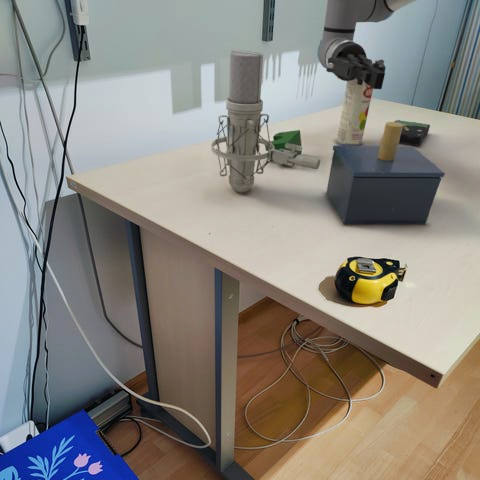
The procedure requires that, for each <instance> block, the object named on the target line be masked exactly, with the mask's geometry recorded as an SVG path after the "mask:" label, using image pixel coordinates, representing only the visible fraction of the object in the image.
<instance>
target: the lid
mask: <svg viewBox="0 0 480 480" xmlns="http://www.w3.org/2000/svg"><path fill="white" fill-rule="evenodd" d="M402 128H403V124H401V123H397V122H394V121H387V122H386V123H385V125H384V129H383V134H382V137H381V142H380V145H360V146H343V145H339V144H338V145H337V144H336V145H332V151H333V152H335V153H336V154H337V156H338V157H339V158H340V160H341V161H342V162H343V164H344V165H345V166H346V168H347V169H348V170H349V172H350V173H351V174H352V176H353V177H441V178H445V175H446V172H445V171H443V170H442V169H441V168H439V167H438V165H436V164H435V163H433V162H432V161H431V160H430V159H429V158H428V157H426V156H425V155H424V154H423V153H421V152H420V151H419V150H418V149H416V148H415V147H414V145H411V146H410V145H408V146H403V145H399V144H400V143H399V139H400V136H401V132H402Z"/></svg>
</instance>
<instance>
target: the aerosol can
mask: <svg viewBox="0 0 480 480" xmlns="http://www.w3.org/2000/svg"><path fill="white" fill-rule="evenodd" d="M373 91H374V89H373V88H372V87H370V86H369V85H368V84H366V83H365V82H364V81H363V85H357V79H354V80H351V81H346V86H345V91H344V97H343V101H342V102H343V103H342V107H341V114H340V120H339V125H338V126H339V127H338V131H337V137H336V143H337V144H338V145H339V146H362V142H363V138H364V134H365V129H366V123H367V120H368V119H367V118H368V115H369V110H370V105H371V100H372V96H373Z"/></svg>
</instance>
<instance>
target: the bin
mask: <svg viewBox="0 0 480 480" xmlns="http://www.w3.org/2000/svg"><path fill="white" fill-rule="evenodd" d="M328 175H329V176H328V181H327V187H326V192H325V195H326V196H327V198H328V200H329V202H330V203H331V205H332V207H333V208H334V211H335V212H336V213H337V216H338V217H339V219H340V220H341V222H342V224H343V225H344V226H345V225H347V226H350V225H351V226H353V225H356V226H357V225H359V226H361V225H362V226H363V225H364V226H367V225H372V226H374V225H376V226H377V225H378V226H379V225H380V226H381V225H393V226H395V225H396V226H397V225H426V224H427V221H428V219H429V215H430V212H431V210H432V207H433V204H434V201H435V198H436V196H437V192H438V189H439V186H440V183H441V180H442V177H353V176H352V174H351V173H350V172H349V170H348V169H347V168H346V166H345V165H344V164H343V162H342V161H341V160H340V158H339V157H338V156H337V154H336V153H335V152H334V151H333V152H332V159H331V164H330V169H329V174H328Z"/></svg>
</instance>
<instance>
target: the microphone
mask: <svg viewBox="0 0 480 480" xmlns="http://www.w3.org/2000/svg"><path fill="white" fill-rule="evenodd" d="M263 61H264V54H263V53H262V52H259V51H253V50H234V49H233V50H231V51H230V53H229V90H228V91H229V93H228V94H229V95H228V96H229V97H228V98H227V99H226V101H225V102H226V103H225V105H226V106H225V109H226V111H227V114H221V115H218V124H219V125H218V130H217V133H216V134H215V136H217V138H215V139H214V140H212V142H211V148H210V149H211V153H212V154H214V156H217V159H218V163H219V168H220V169H219V176H220V177H227V176H228V184H229V186H230V187H231V188H232V190H234V191H235V192H237V193H246V192H248V191H249V190H251V188H252V187H253V186H254V185H255V174H257V175H263V174H264V168H265V167H266V166H267V165H268V164H269V163H270V162H271V161H270V160H274V161H273V162H274V163H277V164H281V165H282V164H285V165H290V166H289V167H292V166H299V167H302V168H307V169H312V170H315V171H316V170H317V171H318V169H319V167H320V165H321V159H320V158H317V157H312V156H307V155H302V154H301V155H297V152H295V150H297V151H302V152H303V146H298V145H294V144H288V143H286V144H285V148H288V149H292V151H289V150H284V149H279V150H275V148H274V145H273V144H272V143H271V142H270V141H271V140H270V133H269V125H268V123H269V121H270V120H269V119H270V115H269V114H268V113H262V112H263V109H264V107H263V106H264V101H263V99H261V94H262V93H261V92H262V78H263V65H264V64H263V63H264V62H263ZM262 117H266V118H263V122H262V124H261V121H262ZM221 118H226V124H225V125H224V119H222V120H221ZM264 124H266V129H267V130H266V131H267V136H268V139H264V138H263V136H261V131H262V127H263V126H264ZM223 125H224V127H223ZM220 128H221V129H220ZM225 128H226V134H225ZM221 132H222V134H223V136H221V137H220V135H221V134H220V133H221ZM222 143H225V145H226V150H225V152H223V151H221V150H220V144H222ZM260 144H262V145H264V146H265V145H267V146H268V151H267V152H266V153H262V154H261V152H260V149H261V148H260V146H261V145H260ZM215 146H216V148H215ZM269 147H270V148H271V149H270V148H269ZM220 158H222V159H223V165H224V167H223V168H222V165H221V159H220ZM265 159H266V162H265V163H263V164H261V160H265ZM256 161H257V164H256ZM227 166H228V167H229V168H228V170H227ZM255 166H256V170H255ZM224 171H225V173H224ZM228 171H229V175H228ZM222 173H224V174H222Z"/></svg>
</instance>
